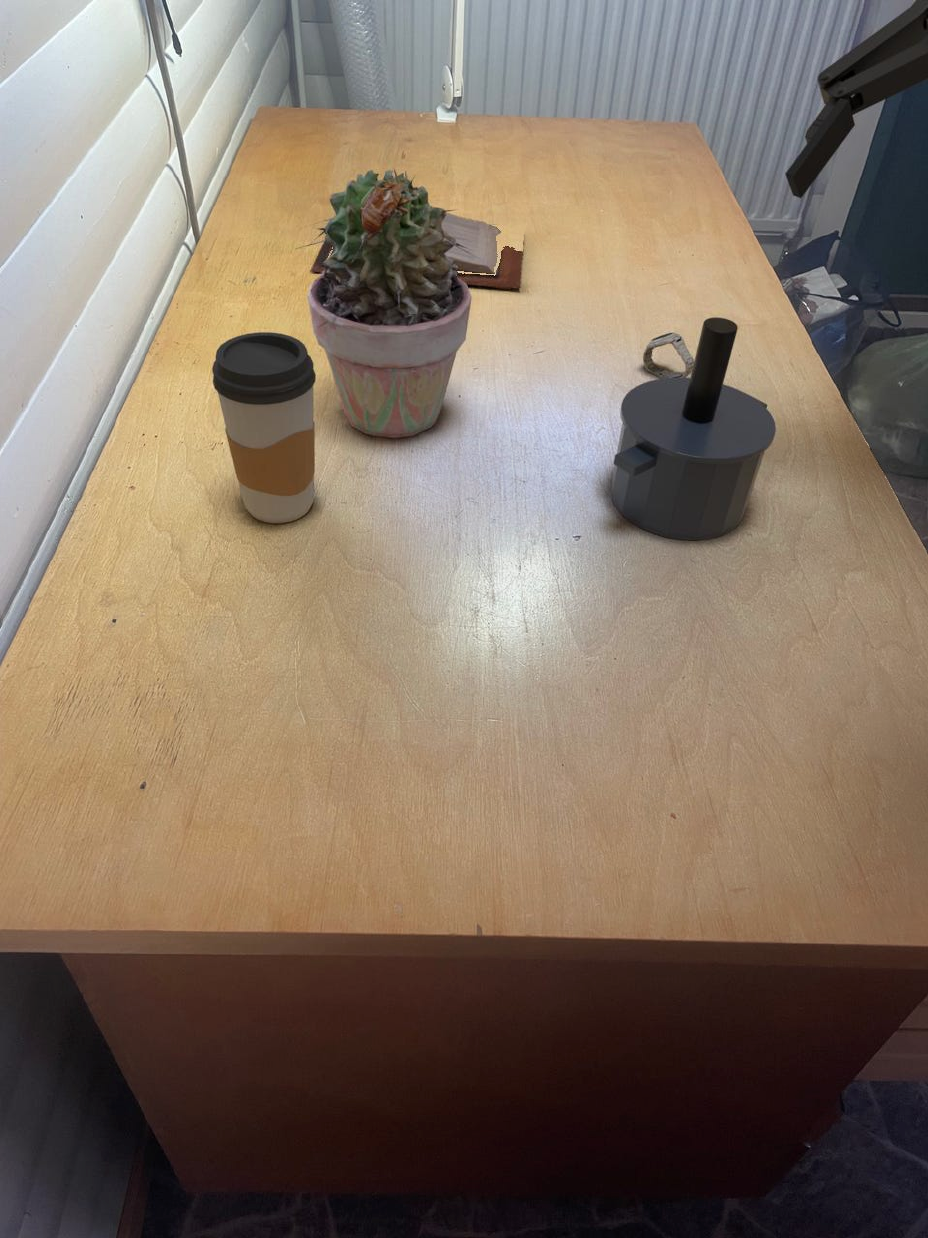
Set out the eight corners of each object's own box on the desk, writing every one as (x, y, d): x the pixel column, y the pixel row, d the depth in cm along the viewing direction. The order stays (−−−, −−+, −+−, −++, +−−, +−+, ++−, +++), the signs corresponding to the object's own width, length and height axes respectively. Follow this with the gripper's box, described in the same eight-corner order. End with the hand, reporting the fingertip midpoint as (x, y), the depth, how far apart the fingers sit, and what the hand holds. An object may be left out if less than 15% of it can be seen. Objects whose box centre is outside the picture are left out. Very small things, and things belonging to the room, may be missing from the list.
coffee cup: (291, 467, 88) (275, 319, 78) (343, 507, 84) (334, 357, 73) (215, 500, 84) (188, 348, 73) (266, 544, 79) (245, 390, 69)
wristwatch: (652, 361, 107) (660, 320, 103) (695, 381, 104) (705, 340, 100) (633, 370, 105) (641, 329, 102) (677, 391, 102) (687, 350, 99)
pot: (788, 498, 88) (815, 421, 82) (662, 569, 79) (682, 489, 73) (689, 440, 95) (707, 365, 89) (563, 499, 86) (574, 421, 80)
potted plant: (429, 352, 106) (433, 115, 89) (507, 438, 93) (529, 181, 76) (279, 380, 100) (252, 131, 83) (340, 476, 87) (324, 206, 70)
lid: (803, 437, 81) (839, 335, 74) (703, 488, 75) (733, 382, 68) (687, 374, 89) (710, 276, 82) (587, 416, 82) (603, 313, 75)
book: (336, 221, 134) (333, 190, 131) (526, 230, 133) (527, 199, 130) (309, 286, 121) (305, 253, 118) (519, 298, 120) (521, 265, 116)
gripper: (1255, 26, 59) (1035, 303, 63) (913, -37, 73) (747, 193, 76) (1280, -72, 53) (1035, 241, 56) (902, -120, 67) (721, 134, 70)
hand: (869, 214), depth 66 cm, fingers open, 13 cm apart
